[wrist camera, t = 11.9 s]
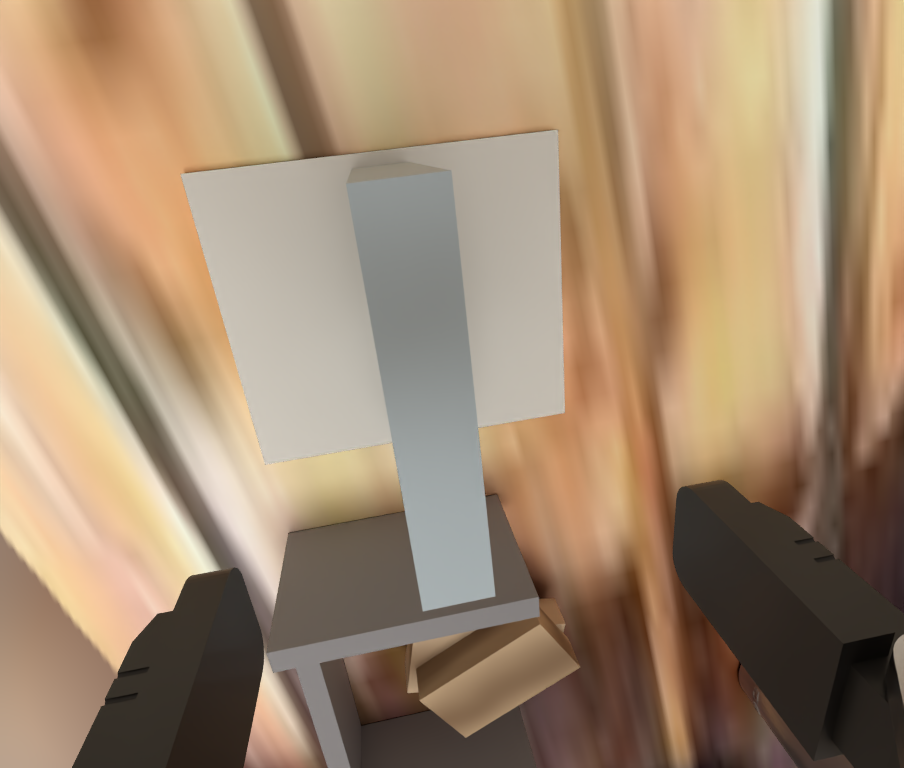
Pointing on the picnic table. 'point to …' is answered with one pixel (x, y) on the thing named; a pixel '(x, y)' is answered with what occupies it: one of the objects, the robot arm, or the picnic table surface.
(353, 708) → the rack
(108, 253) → the picnic table surface
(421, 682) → the offcut
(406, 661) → the offcut
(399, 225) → the grey flat slab
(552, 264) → the mat
